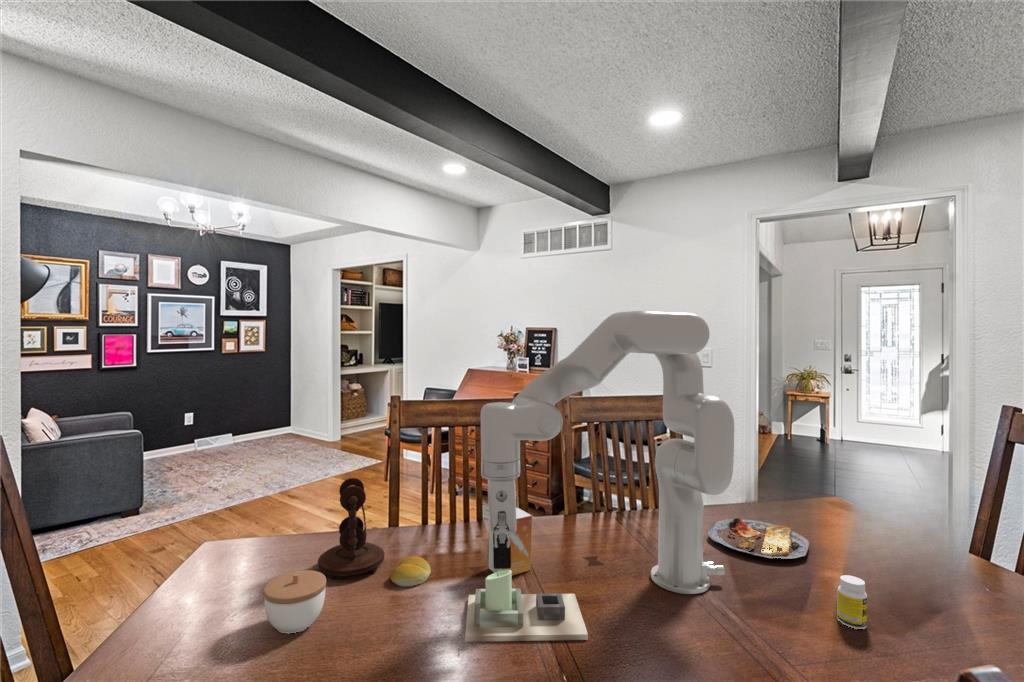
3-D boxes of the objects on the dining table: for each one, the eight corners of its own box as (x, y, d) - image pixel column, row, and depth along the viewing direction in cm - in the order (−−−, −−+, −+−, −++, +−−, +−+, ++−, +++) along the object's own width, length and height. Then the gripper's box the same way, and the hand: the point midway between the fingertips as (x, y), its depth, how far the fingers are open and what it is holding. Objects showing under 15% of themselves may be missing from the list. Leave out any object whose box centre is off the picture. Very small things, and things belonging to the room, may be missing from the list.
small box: (502, 579, 110) (503, 521, 110) (487, 568, 115) (488, 513, 115) (531, 570, 114) (532, 514, 114) (516, 560, 120) (517, 506, 120)
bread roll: (385, 586, 107) (385, 568, 107) (402, 567, 116) (402, 550, 116) (421, 590, 105) (421, 572, 105) (435, 571, 114) (435, 554, 114)
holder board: (574, 598, 102) (574, 581, 102) (587, 639, 88) (588, 620, 88) (468, 599, 101) (468, 582, 101) (465, 641, 87) (465, 622, 87)
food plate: (722, 519, 149) (722, 507, 149) (812, 539, 135) (812, 526, 135) (699, 549, 128) (700, 536, 128) (803, 577, 115) (803, 562, 115)
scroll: (387, 576, 111) (388, 488, 111) (316, 587, 106) (317, 494, 106) (381, 549, 125) (381, 471, 124) (318, 558, 120) (319, 476, 119)
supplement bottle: (867, 633, 91) (868, 588, 91) (837, 625, 94) (838, 581, 94) (865, 621, 95) (866, 578, 95) (836, 613, 98) (837, 571, 98)
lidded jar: (281, 608, 98) (281, 560, 98) (334, 609, 97) (335, 562, 97) (251, 641, 87) (251, 588, 87) (311, 643, 87) (311, 590, 86)
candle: (480, 618, 92) (480, 573, 93) (492, 607, 97) (492, 564, 98) (504, 623, 90) (504, 577, 91) (516, 612, 95) (515, 568, 96)
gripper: (523, 480, 86) (524, 577, 86) (517, 455, 103) (518, 536, 104) (480, 481, 86) (481, 579, 86) (481, 456, 103) (482, 537, 103)
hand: (501, 555), depth 95 cm, fingers open, 9 cm apart
